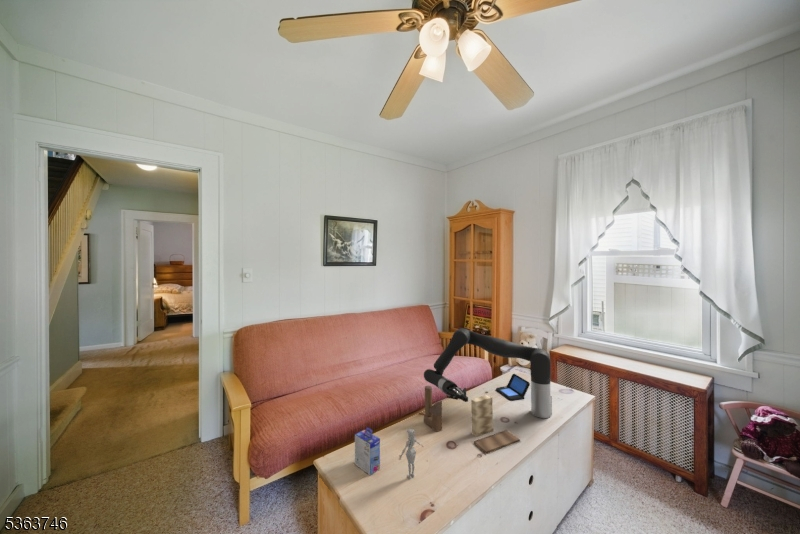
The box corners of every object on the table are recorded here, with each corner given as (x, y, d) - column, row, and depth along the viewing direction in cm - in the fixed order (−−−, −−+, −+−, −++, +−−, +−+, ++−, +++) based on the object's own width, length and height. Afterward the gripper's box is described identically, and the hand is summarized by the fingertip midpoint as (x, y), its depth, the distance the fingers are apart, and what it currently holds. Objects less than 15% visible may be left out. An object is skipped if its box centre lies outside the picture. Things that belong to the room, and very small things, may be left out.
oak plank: (488, 427, 140) (487, 394, 140) (493, 431, 137) (492, 397, 137) (471, 433, 136) (471, 399, 136) (476, 436, 133) (475, 402, 133)
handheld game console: (495, 390, 181) (494, 375, 181) (513, 387, 185) (513, 372, 185) (511, 401, 166) (510, 385, 166) (530, 398, 170) (530, 382, 170)
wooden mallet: (436, 432, 137) (435, 394, 137) (423, 421, 147) (422, 386, 146) (442, 429, 139) (442, 392, 139) (429, 419, 149) (428, 384, 148)
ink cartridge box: (381, 468, 114) (380, 432, 114) (370, 476, 110) (369, 438, 110) (365, 457, 121) (364, 422, 120) (354, 464, 117) (353, 428, 116)
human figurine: (420, 467, 114) (419, 422, 114) (426, 472, 111) (426, 426, 111) (395, 482, 107) (394, 433, 106) (402, 488, 104) (401, 438, 103)
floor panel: (506, 431, 137) (506, 429, 137) (519, 441, 129) (519, 439, 129) (473, 443, 129) (473, 440, 129) (486, 453, 121) (486, 451, 121)
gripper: (437, 382, 160) (456, 395, 144) (457, 377, 165) (477, 390, 149) (437, 395, 160) (456, 410, 144) (457, 390, 165) (477, 404, 150)
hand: (466, 399), depth 147 cm, fingers closed
